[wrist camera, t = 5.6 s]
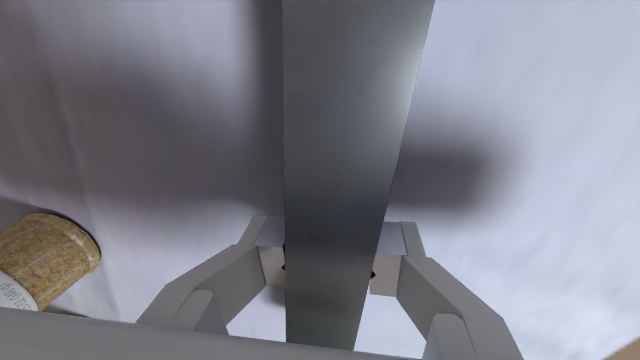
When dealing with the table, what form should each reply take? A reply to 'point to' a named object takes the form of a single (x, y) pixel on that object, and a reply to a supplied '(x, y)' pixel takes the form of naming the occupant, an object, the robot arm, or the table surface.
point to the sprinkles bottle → (42, 260)
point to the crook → (341, 151)
